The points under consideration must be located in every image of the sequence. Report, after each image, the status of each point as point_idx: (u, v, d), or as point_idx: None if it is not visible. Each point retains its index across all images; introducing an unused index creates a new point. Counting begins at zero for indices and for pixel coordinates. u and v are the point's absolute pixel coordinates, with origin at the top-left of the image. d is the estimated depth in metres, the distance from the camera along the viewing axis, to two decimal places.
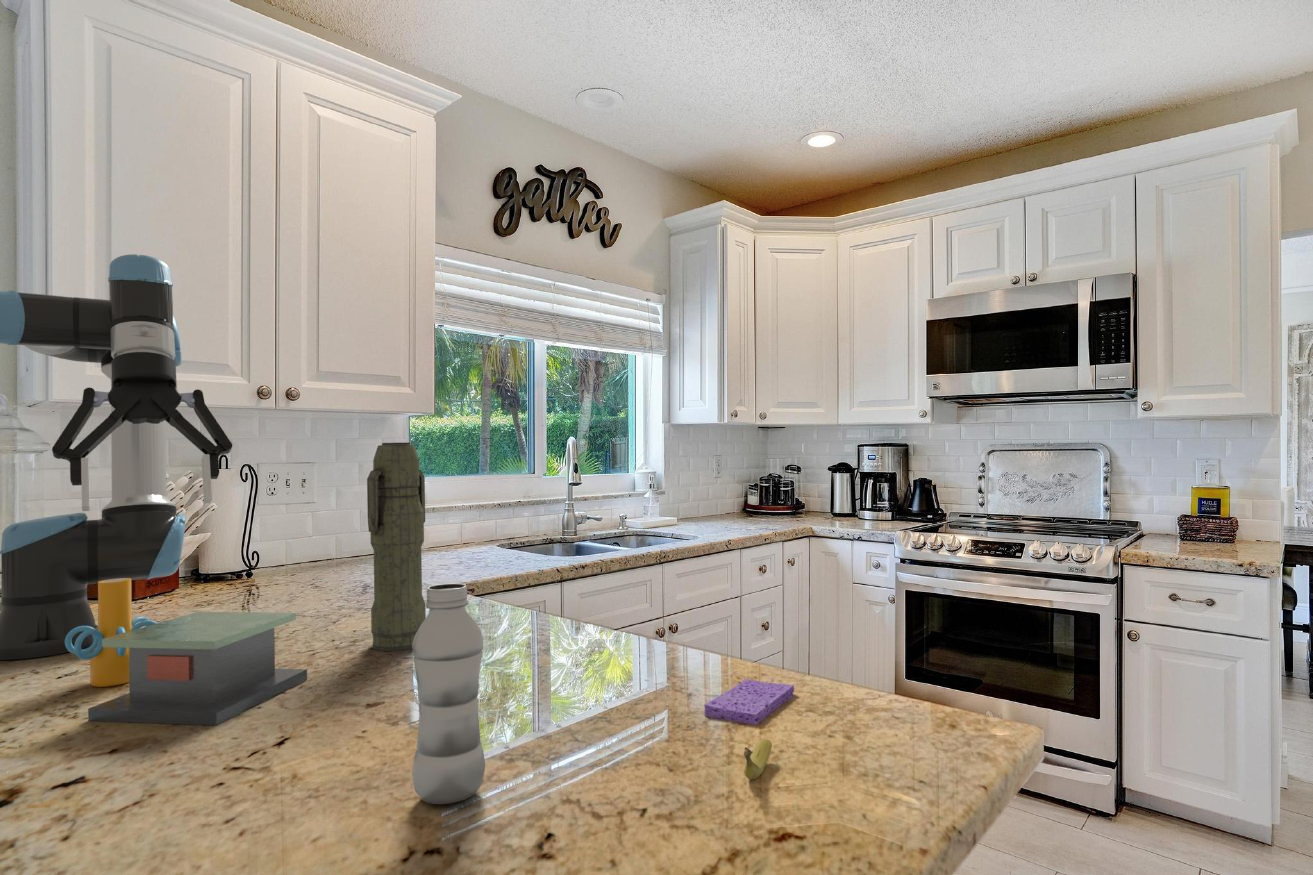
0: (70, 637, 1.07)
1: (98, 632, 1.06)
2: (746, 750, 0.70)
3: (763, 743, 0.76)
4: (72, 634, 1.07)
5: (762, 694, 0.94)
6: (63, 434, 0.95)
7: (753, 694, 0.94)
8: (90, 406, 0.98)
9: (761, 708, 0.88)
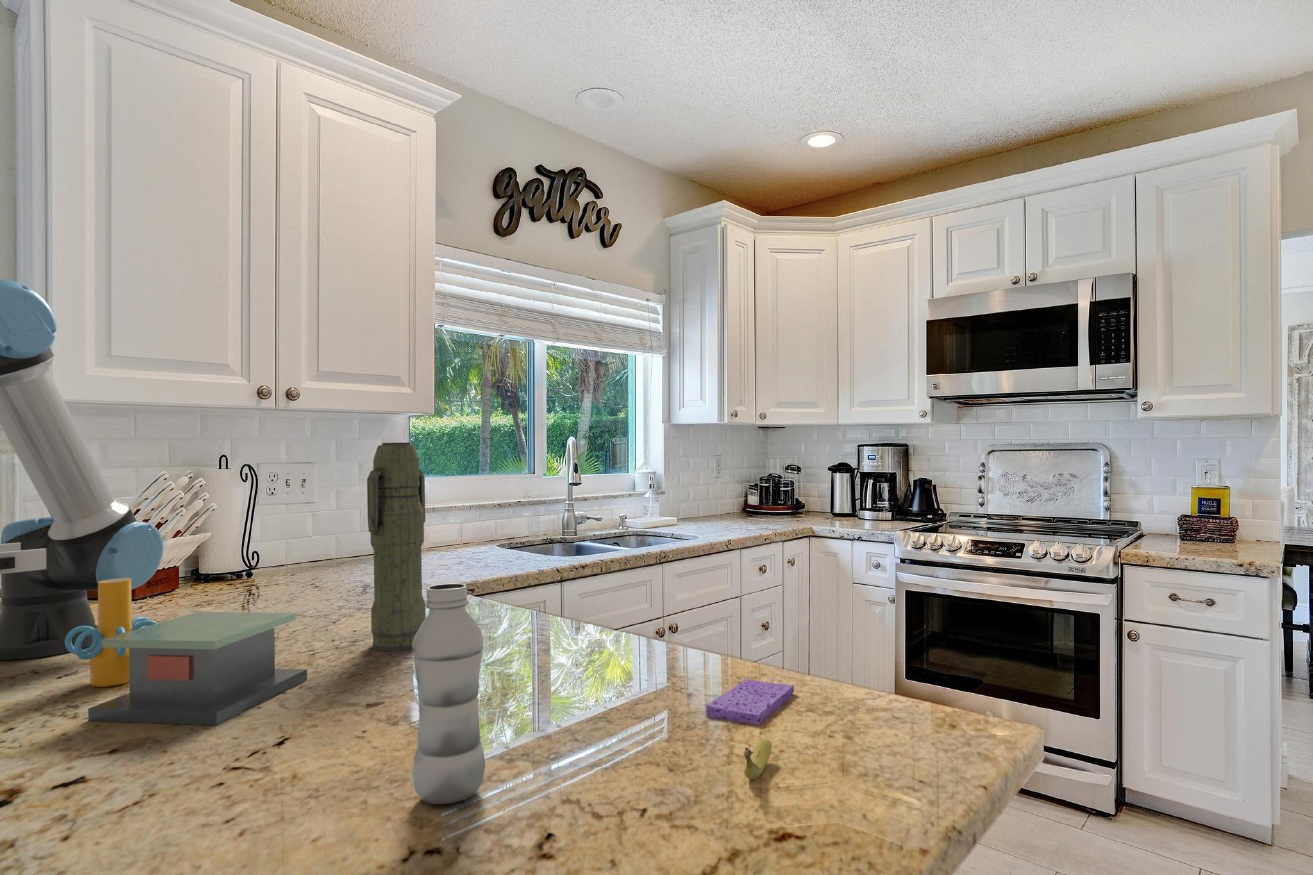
0: (70, 637, 1.07)
1: (98, 632, 1.06)
2: (746, 750, 0.70)
3: (763, 743, 0.76)
4: (72, 634, 1.07)
5: (763, 694, 0.94)
6: None
7: (753, 694, 0.93)
8: None
9: (763, 708, 0.88)
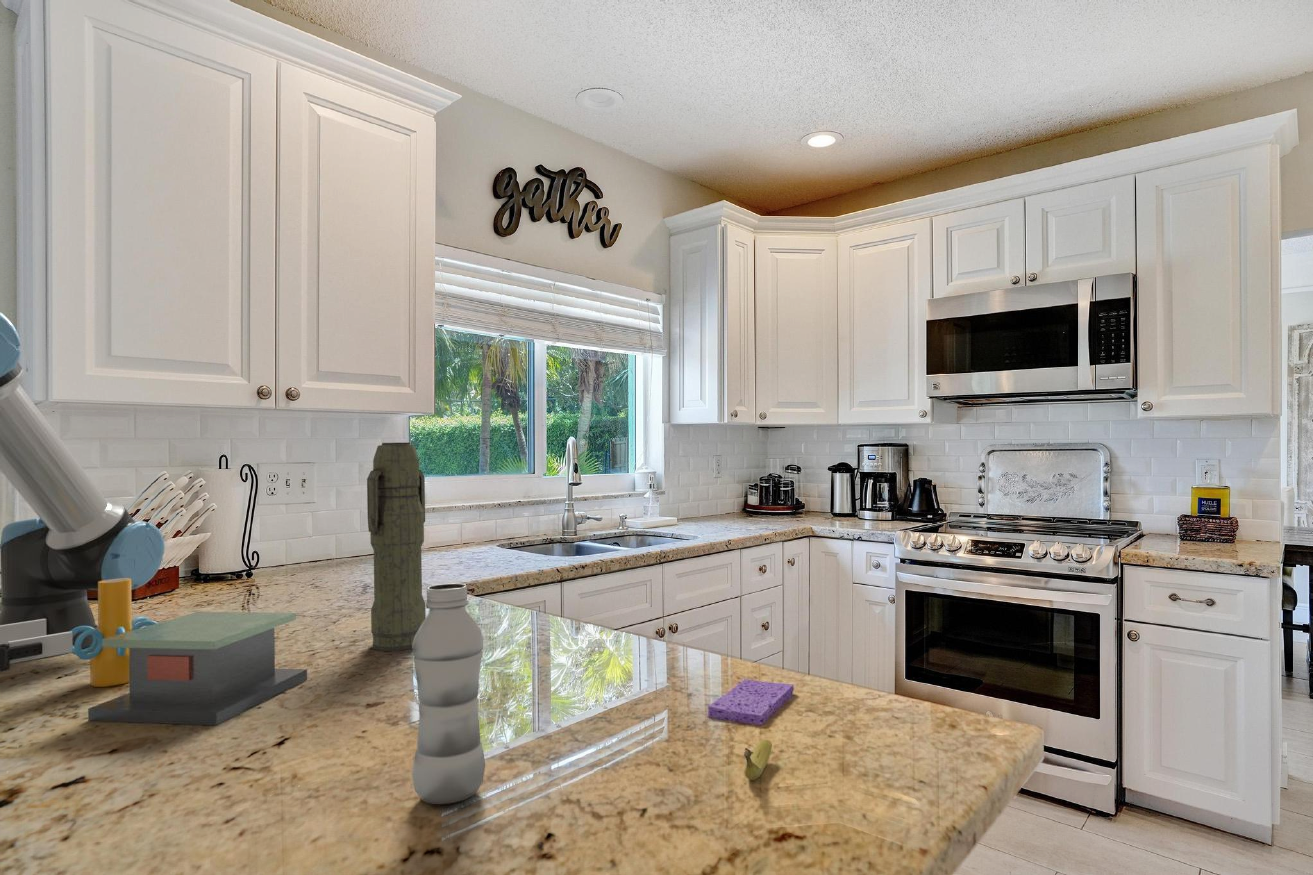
0: None
1: (98, 632, 1.06)
2: (746, 751, 0.70)
3: (763, 743, 0.76)
4: (72, 634, 1.07)
5: (763, 694, 0.93)
6: None
7: (754, 694, 0.93)
8: None
9: (766, 709, 0.88)
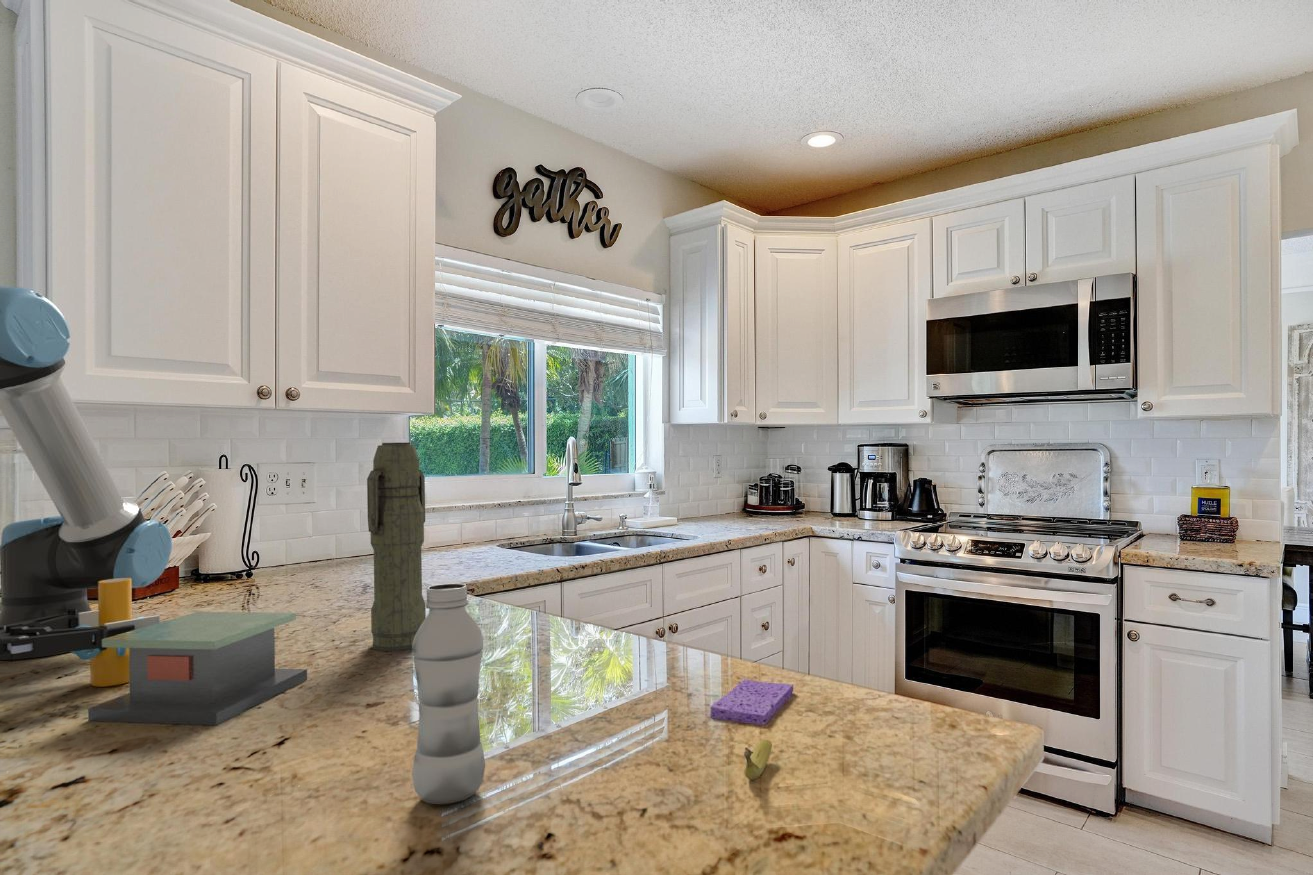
0: None
1: None
2: (746, 750, 0.70)
3: (763, 743, 0.76)
4: None
5: (764, 694, 0.93)
6: None
7: (755, 694, 0.93)
8: None
9: (768, 709, 0.88)
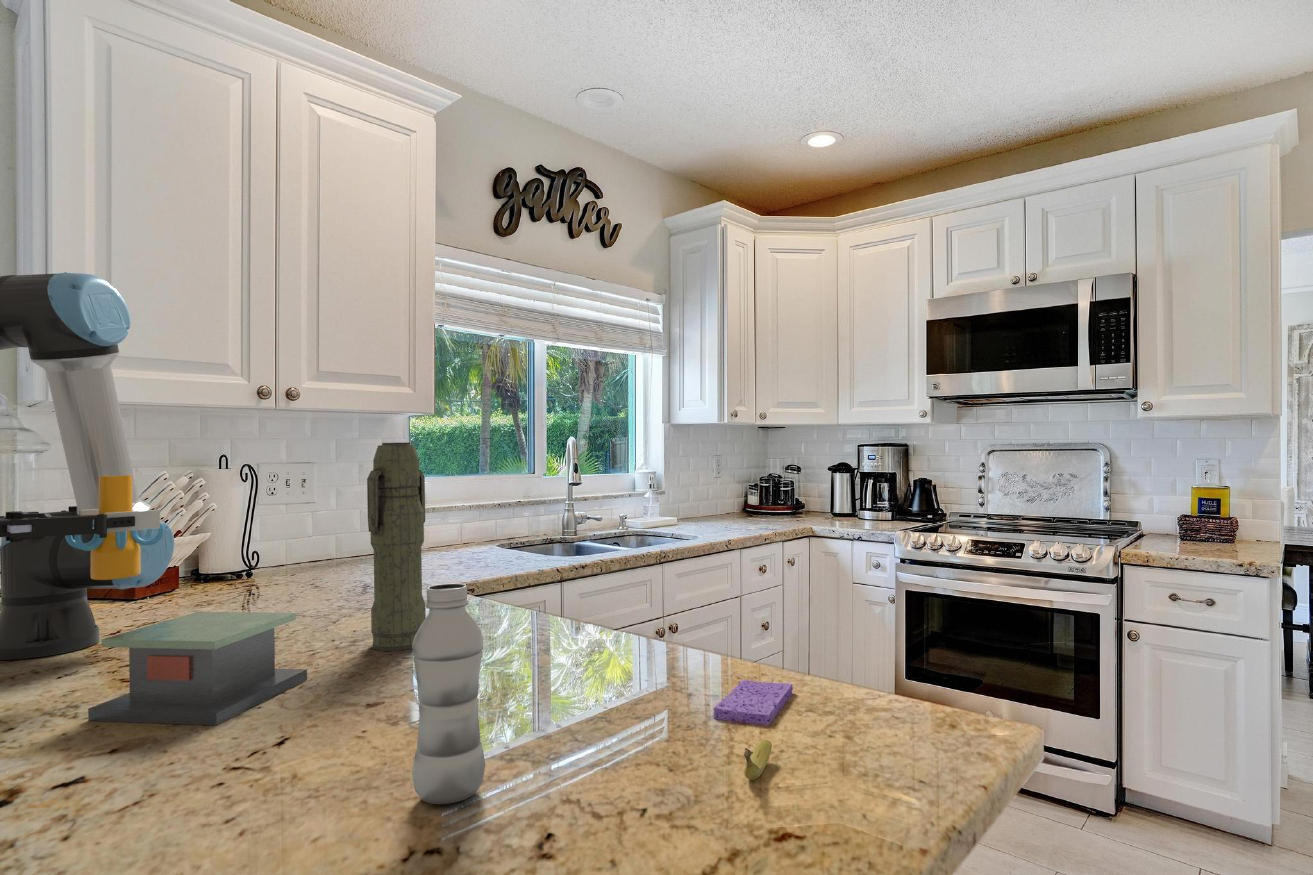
0: None
1: None
2: (746, 750, 0.70)
3: (763, 744, 0.76)
4: None
5: (765, 694, 0.93)
6: None
7: (756, 694, 0.93)
8: None
9: (771, 708, 0.88)
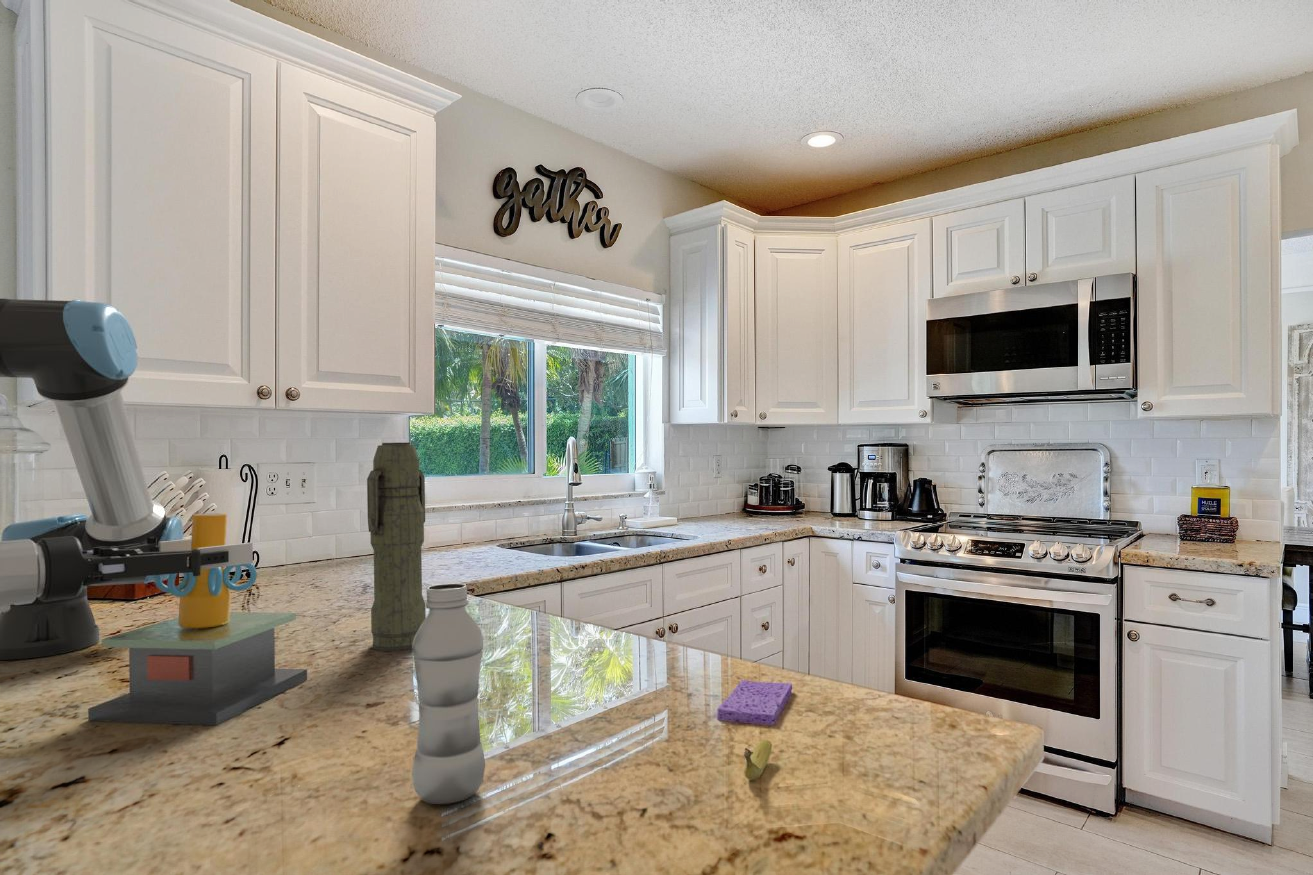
0: None
1: None
2: (746, 751, 0.70)
3: (763, 744, 0.76)
4: None
5: (766, 694, 0.93)
6: None
7: (758, 695, 0.93)
8: None
9: (775, 708, 0.88)
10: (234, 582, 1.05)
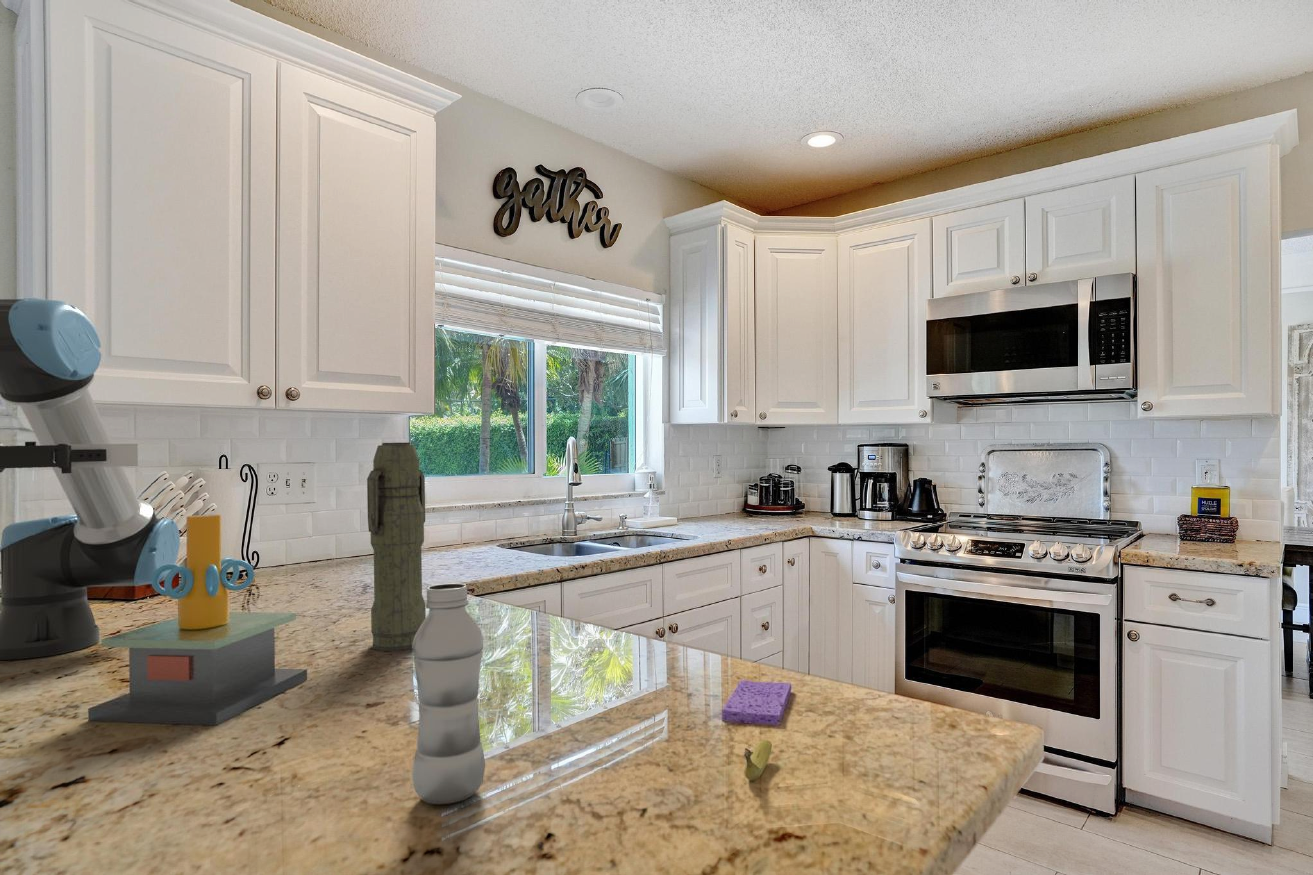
0: (157, 575, 0.98)
1: (188, 570, 0.97)
2: (746, 751, 0.70)
3: (763, 744, 0.76)
4: (159, 572, 0.98)
5: (768, 694, 0.93)
6: None
7: (759, 695, 0.93)
8: None
9: (780, 708, 0.88)
10: (232, 582, 1.05)
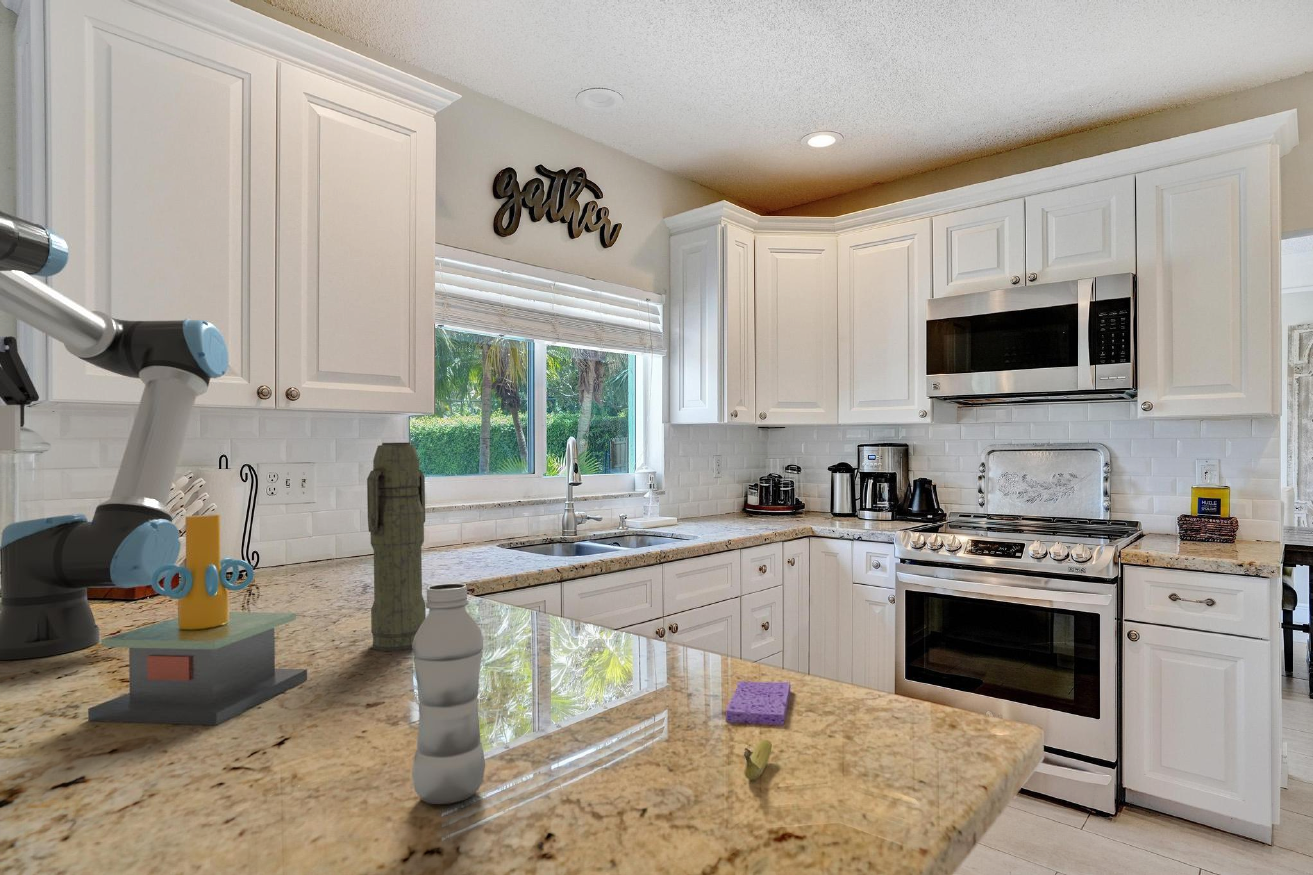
0: (157, 576, 0.98)
1: (187, 570, 0.97)
2: (746, 751, 0.70)
3: (763, 744, 0.76)
4: (159, 573, 0.98)
5: (769, 694, 0.93)
6: None
7: (761, 695, 0.93)
8: None
9: (783, 708, 0.88)
10: (232, 582, 1.05)
